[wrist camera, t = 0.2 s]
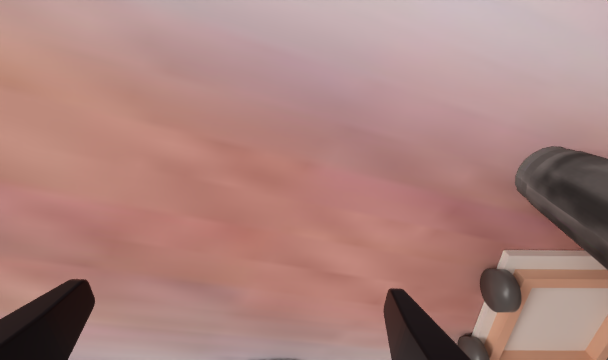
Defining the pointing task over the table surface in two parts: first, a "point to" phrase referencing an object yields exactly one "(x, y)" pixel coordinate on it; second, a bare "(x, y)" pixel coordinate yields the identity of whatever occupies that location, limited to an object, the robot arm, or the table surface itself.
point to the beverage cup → (570, 195)
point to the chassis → (542, 308)
